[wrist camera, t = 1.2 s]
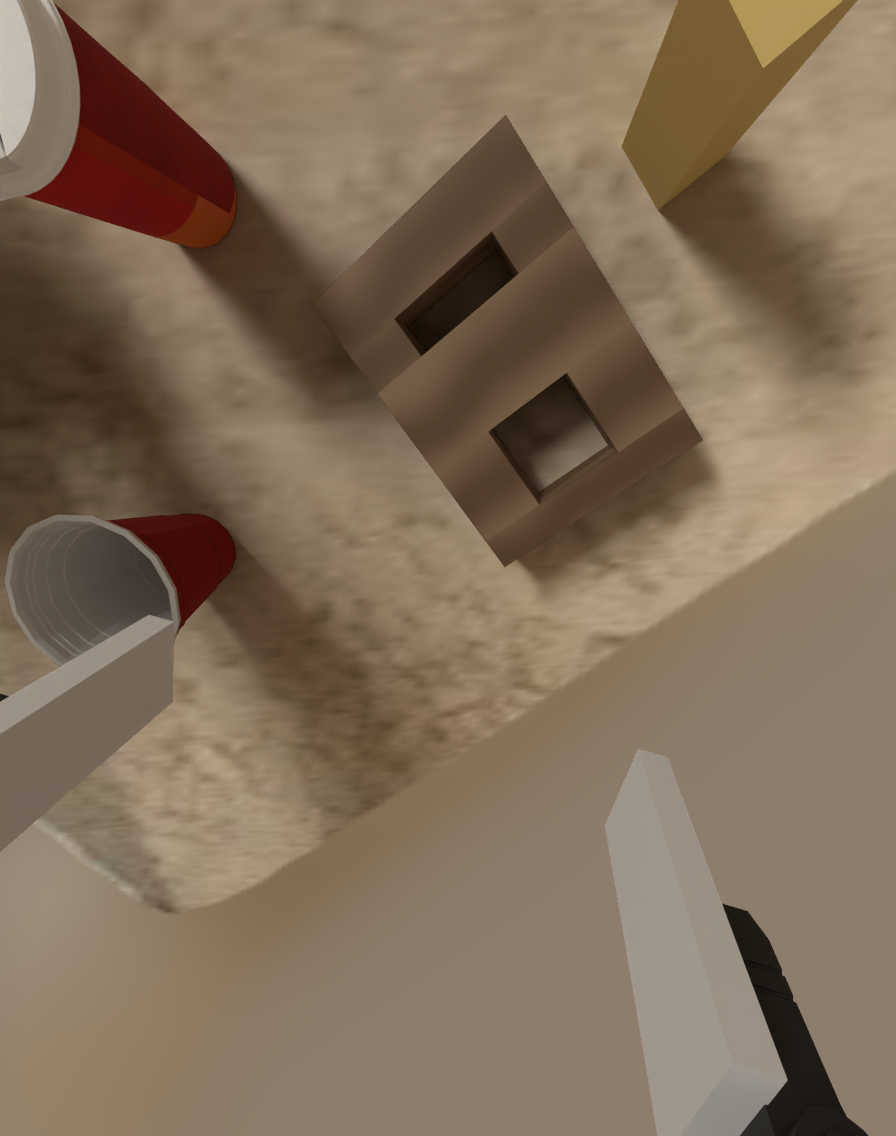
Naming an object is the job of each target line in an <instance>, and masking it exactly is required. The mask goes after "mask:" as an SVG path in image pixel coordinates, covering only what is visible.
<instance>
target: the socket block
mask: <svg viewBox="0 0 896 1136" xmlns="http://www.w3.org/2000/svg"><path fill="white" fill-rule="evenodd" d="M495 250H496V251H497V252H498V254H499V255H500V257H501V258H502V260H503V262H504V263H505V265H506V266H507V268H508V269H509V271H510V272H511V274H512V276H513V277H514V278H513V279H512V280H511V281H510V282H508V283H507V284H506V285H505V286H504V287H502V288H501V289H500V290H499V291H498V292H497V293H495V294H494V295H493V296H492V297H491V298H490V299H488V300H487V301H486V302H485V303H484V304H483V305H481V306H480V307H479V308H478V309H477V310H475V311H474V312H473V313H472V314H471V315H470V316H468V317H467V318H466V319H465V320H464V321H463V322H461V323H460V324H459V325H458V326H457V327H455V328H454V329H453V330H452V331H451V332H450V333H448V334H447V335H446V336H445V337H444V338H443V339H441V340H440V341H439V342H438V343H437V344H436V345H434V346H433V347H432V348H431V349H430V350H428V351H426V350H425V348H424V347H423V345H422V344H421V343H420V341H419V340H418V338H417V337H416V335H415V334H414V333H413V331H412V330H411V328H410V327H409V326H410V325H411V324H413V323H414V322H415V321H416V320H417V319H418V318H419V317H420V316H422V315H423V314H424V313H425V312H426V311H427V310H428V309H430V308H431V307H432V306H433V305H434V304H435V303H436V302H437V301H439V300H440V299H441V298H442V297H443V296H444V295H445V294H446V293H448V292H449V291H450V290H451V289H452V288H453V287H454V286H456V285H457V284H458V283H459V282H460V281H461V280H462V279H463V278H465V277H466V276H467V275H468V274H469V273H470V272H471V271H472V270H474V269H475V268H476V267H477V266H478V265H479V264H480V263H482V262H483V261H484V260H485V259H486V258H487V257H488V256H489V255H491V254H492V253H493V252H494V251H495ZM312 306H313V307H314V308H315V310H316V311H317V312H318V314H319V315H320V317H321V318H322V319H323V321H324V322H325V323H326V325H327V326H328V327H329V329H330V330H331V331H332V333H333V334H334V336H335V337H336V338H337V340H338V341H339V342H340V344H341V345H342V346H343V348H344V349H345V351H346V352H347V353H348V355H349V356H350V357H351V359H352V360H353V361H354V363H355V364H356V365H357V367H358V368H359V370H360V371H361V372H362V374H363V375H364V376H365V378H366V379H367V380H368V382H369V383H370V385H371V386H372V387H373V389H374V390H375V391H376V393H377V394H378V395H379V397H380V398H381V399H382V401H383V402H384V404H385V405H386V406H387V408H388V409H389V410H390V412H391V413H392V414H393V416H394V417H395V419H396V420H397V421H398V423H399V424H400V425H401V427H402V428H403V429H404V431H405V432H406V434H407V435H408V436H409V438H410V439H411V440H412V442H413V443H414V444H415V446H416V447H417V448H418V450H419V451H420V453H421V454H422V455H423V457H424V458H425V459H426V461H427V462H428V463H429V465H430V466H431V468H432V469H433V470H434V472H435V473H436V474H437V476H438V477H439V478H440V480H441V481H442V482H443V484H444V485H445V487H446V488H447V489H448V491H449V492H450V493H451V495H452V496H453V497H454V499H455V500H456V502H457V503H458V504H459V506H460V507H461V508H462V510H463V511H464V512H465V514H466V515H467V516H468V518H469V519H470V521H471V522H472V523H473V525H474V526H475V527H476V529H477V530H478V531H479V533H480V534H481V536H482V537H483V538H484V540H485V541H486V542H487V544H488V545H489V546H490V548H491V549H492V550H493V552H494V553H495V555H496V556H497V557H498V559H499V560H500V561H501V563H502V564H503V565H504V567H506V566H507V565H509V564H510V563H512V562H514V561H515V560H517V559H518V558H520V557H521V556H523V555H524V554H526V553H528V552H529V551H531V550H532V549H534V548H535V547H537V546H539V545H540V544H542V543H543V542H545V541H546V540H548V539H549V538H551V537H553V536H554V535H556V534H557V533H559V532H560V531H562V530H563V529H565V528H567V527H568V526H570V525H571V524H573V523H574V522H576V521H578V520H579V519H581V518H582V517H584V516H585V515H587V514H588V513H590V512H592V511H593V510H595V509H596V508H598V507H599V506H601V505H602V504H604V503H606V502H607V501H609V500H610V499H612V498H613V497H615V496H616V495H618V494H620V493H621V492H623V491H624V490H626V489H627V488H629V487H631V486H632V485H634V484H635V483H637V482H638V481H640V480H641V479H643V478H645V477H646V476H648V475H649V474H651V473H652V472H654V471H655V470H657V469H659V468H660V467H662V466H663V465H665V464H666V463H668V462H670V461H671V460H673V459H674V458H676V457H677V456H679V455H680V454H682V453H684V452H685V451H687V450H688V449H690V448H691V447H693V446H694V445H696V444H698V443H699V442H701V441H702V440H703V439H702V438H701V436H700V434H699V433H698V431H697V429H696V428H695V426H694V424H693V423H692V421H691V419H690V418H689V416H688V414H687V413H686V411H685V409H684V408H683V406H682V405H681V403H680V401H679V400H678V398H677V396H676V395H675V393H674V391H673V390H672V388H671V386H670V385H669V383H668V381H667V380H666V378H665V377H664V375H663V373H662V372H661V370H660V368H659V367H658V365H657V363H656V362H655V360H654V358H653V357H652V355H651V353H650V352H649V350H648V348H647V347H646V345H645V344H644V342H643V340H642V339H641V337H640V335H639V334H638V332H637V330H636V329H635V327H634V325H633V324H632V322H631V320H630V319H629V317H628V315H627V314H626V312H625V311H624V309H623V307H622V306H621V304H620V302H619V301H618V299H617V297H616V296H615V294H614V292H613V291H612V289H611V287H610V286H609V284H608V283H607V281H606V279H605V278H604V276H603V274H602V273H601V271H600V269H599V268H598V266H597V264H596V263H595V261H594V259H593V258H592V256H591V254H590V253H589V251H588V250H587V248H586V246H585V245H584V243H583V241H582V240H581V238H580V236H579V235H578V233H577V231H576V230H575V228H574V226H573V225H572V223H571V221H570V220H569V218H568V217H567V215H566V213H565V212H564V210H563V208H562V207H561V205H560V203H559V202H558V200H557V198H556V197H555V195H554V193H553V192H552V190H551V189H550V187H549V185H548V184H547V182H546V180H545V179H544V177H543V175H542V174H541V172H540V170H539V169H538V167H537V165H536V164H535V162H534V160H533V159H532V157H531V156H530V154H529V152H528V151H527V149H526V147H525V146H524V144H523V142H522V141H521V139H520V137H519V136H518V134H517V132H516V131H515V129H514V127H513V126H512V124H511V123H510V121H509V119H508V118H507V116H506V115H505V116H504V117H503V118H502V119H501V120H500V121H499V122H498V123H497V124H496V125H495V126H494V127H493V128H492V129H491V130H490V131H489V132H488V133H487V134H485V135H484V136H483V137H482V138H481V139H480V140H479V141H478V142H477V143H476V144H475V145H474V146H473V147H472V148H471V149H470V150H469V151H468V152H467V153H466V154H465V155H464V156H463V157H462V158H461V159H460V160H459V161H458V162H457V163H456V164H455V165H454V166H453V167H452V168H451V169H450V170H449V171H448V172H447V173H446V174H445V175H444V176H443V177H442V178H441V179H439V180H438V181H437V182H436V183H435V184H434V185H433V186H432V187H431V188H430V189H429V190H428V191H427V192H426V193H425V194H424V195H423V196H422V197H421V198H420V199H419V200H418V201H417V202H416V203H415V204H414V205H413V206H412V207H411V208H410V209H409V210H408V211H407V212H406V213H405V214H404V215H403V216H402V217H401V218H400V219H399V220H398V221H397V222H396V223H395V224H393V225H392V226H391V227H390V228H389V229H388V230H387V231H386V232H385V233H384V234H383V235H382V236H381V237H380V238H379V239H378V240H377V241H376V242H375V243H374V244H373V245H372V246H371V247H370V248H369V249H368V250H367V251H366V252H365V253H364V254H363V255H362V256H361V257H360V258H359V259H358V260H357V261H356V262H355V263H354V264H353V265H352V266H351V267H350V268H349V269H348V270H346V271H345V272H344V273H343V274H342V275H341V276H340V277H339V278H338V279H337V280H336V281H335V282H334V283H333V284H332V285H331V286H330V287H329V288H328V289H327V290H326V291H325V292H324V293H323V294H322V295H321V296H320V297H319V298H318V299H317V300H316V301H315V302H314V303H313V304H312ZM562 376H564V378H565V379H566V381H567V382H568V384H569V385H570V387H571V388H572V390H573V392H574V393H575V395H576V396H577V398H578V399H579V401H580V402H581V404H582V405H583V407H584V408H585V410H586V412H587V413H588V415H589V416H590V418H591V419H592V421H593V422H594V424H595V425H596V427H597V428H598V430H599V432H600V433H601V435H602V436H603V438H604V439H605V441H606V442H607V444H608V446H606V447H605V448H603V449H602V450H600V451H599V452H598V453H596V454H595V455H593V456H592V457H590V458H589V459H587V460H586V461H584V462H583V463H581V464H580V465H578V466H577V467H575V468H574V469H573V470H571V471H570V472H568V473H567V474H565V475H564V476H562V477H561V478H559V479H558V480H556V481H555V482H553V483H552V484H550V485H549V486H548V487H546V488H545V489H543V490H542V491H540V492H539V493H538V492H537V491H536V489H535V488H534V486H533V485H532V483H531V482H530V481H529V479H528V478H527V476H526V475H525V473H524V472H523V470H522V469H521V468H520V466H519V465H518V463H517V462H516V460H515V459H514V458H513V456H512V455H511V453H510V452H509V450H508V449H507V447H506V446H505V445H504V443H503V442H502V440H501V439H500V437H499V436H498V435H497V433H496V432H495V430H494V429H493V428H494V427H495V426H496V425H498V424H499V423H500V422H502V421H503V420H504V419H506V418H507V417H508V416H510V415H511V414H512V413H514V412H515V411H516V410H518V409H519V408H520V407H522V406H523V405H524V404H526V403H527V402H528V401H530V400H531V399H532V398H534V397H535V396H536V395H538V394H539V393H540V392H542V391H543V390H544V389H546V388H547V387H548V386H550V385H551V384H552V383H554V382H555V381H556V380H558V379H559V378H560V377H562Z"/></svg>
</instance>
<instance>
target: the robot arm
mask: <svg viewBox="0 0 896 1136" xmlns="http://www.w3.org/2000/svg"><path fill="white" fill-rule="evenodd" d="M173 648H174V622H173V621H170V620H166V619H162V618H159V617H155V616H152V615H147V616H146V617H144V618H142V619H141V620H139V621H137V622H136V623H134V624H132V625H130V626H129V627H127V628H125V629H124V630H122V631H120V632H118V633H117V634H115V635H113V636H112V637H110V638H108V639H107V640H105V641H103V642H101V643H100V644H98V645H96V646H95V647H93V648H91V649H89V650H88V651H86V652H84V653H83V654H81V655H79V656H78V657H76V658H74V659H72V660H71V661H69V662H67V663H66V664H64V665H62V666H60V667H59V668H57V669H55V670H54V671H52V672H50V673H48V674H47V675H45V676H43V677H42V678H40V679H38V680H37V681H35V682H33V683H31V684H30V685H28V686H26V687H25V688H23V689H21V690H19V691H18V692H16V693H14V694H13V695H11V696H6V695H3V694H0V851H2V850H3V849H4V848H5V847H6V846H7V845H8V844H9V843H11V842H12V841H13V840H14V839H15V838H17V837H18V836H19V835H20V834H21V833H22V832H23V831H25V830H26V829H27V828H28V827H29V826H30V825H32V824H33V823H34V822H35V821H36V820H37V819H38V818H40V817H41V816H42V815H43V814H44V813H45V812H46V811H48V810H49V809H50V808H51V807H52V806H53V805H55V804H56V803H57V802H58V801H59V800H60V799H61V798H63V797H64V796H65V795H66V794H67V793H68V792H70V791H71V790H72V789H73V788H74V787H75V786H76V785H78V784H79V783H80V782H81V781H82V780H83V779H84V778H86V777H87V776H88V775H89V774H90V773H91V772H93V771H94V770H95V769H96V768H97V767H98V766H99V765H101V764H102V763H103V762H104V761H105V760H106V759H108V758H109V757H110V756H111V755H112V754H113V753H114V752H116V751H117V750H118V749H119V748H120V747H121V746H122V745H124V744H125V743H126V742H127V741H128V740H129V739H131V738H132V737H133V736H134V735H135V734H136V733H137V732H139V731H140V730H141V729H142V728H143V727H144V726H146V725H147V724H148V723H149V722H150V721H151V720H152V719H154V718H155V717H156V716H157V715H158V714H159V713H160V712H162V711H163V710H164V709H165V708H166V707H167V706H169V705H170V704H171V703H172V702H173ZM605 830H606V835H607V841H608V847H609V853H610V859H611V865H612V871H613V876H614V882H615V888H616V894H617V900H618V906H619V912H620V918H621V924H622V929H623V935H624V941H625V947H626V953H627V959H628V965H629V970H630V976H631V982H632V988H633V994H634V1000H635V1005H636V1011H637V1017H638V1023H639V1029H640V1035H641V1041H642V1047H643V1053H644V1059H645V1064H646V1071H647V1076H648V1082H649V1088H650V1093H651V1100H652V1105H653V1111H654V1117H655V1124H656V1129H657V1135H658V1136H868V1135H867V1134H866V1133H865V1131H864V1130H862V1129H861V1128H860V1127H858V1126H857V1125H856V1124H855V1123H854V1122H852V1121H851V1120H850V1119H848V1118H847V1117H846V1114H845V1112H844V1111H843V1109H842V1107H841V1105H840V1103H839V1101H838V1098H837V1096H836V1094H835V1091H834V1089H833V1087H832V1084H831V1082H830V1080H829V1077H828V1075H827V1073H826V1070H825V1068H824V1066H823V1063H822V1061H821V1059H820V1057H819V1054H818V1052H817V1050H816V1047H815V1045H814V1043H813V1040H812V1038H811V1036H810V1034H809V1031H808V1029H807V1027H806V1024H805V1022H804V1020H803V1017H802V1015H801V1013H800V1010H799V1008H798V1006H797V1003H795V1002H793V994H792V992H791V990H790V987H789V985H788V983H787V980H786V978H785V977H784V976H782V969H781V967H780V964H779V962H778V960H777V957H776V955H775V953H774V950H773V948H772V946H771V944H770V941H769V939H768V938H767V937H766V935H765V934H764V933H763V931H762V930H761V929H760V927H759V926H758V925H757V924H756V922H755V921H754V919H753V918H752V917H751V915H750V914H749V913H748V911H745V910H742V909H738V908H735V907H731V906H728V905H725V904H722V902H721V900H720V897H719V894H718V892H717V889H716V886H715V884H714V881H713V878H712V876H711V873H710V870H709V868H708V865H707V862H706V860H705V857H704V854H703V851H702V849H701V846H700V844H699V841H698V838H697V835H696V833H695V830H694V827H693V825H692V822H691V819H690V817H689V814H688V811H687V809H686V806H685V803H684V801H683V798H682V795H681V793H680V790H679V787H678V784H677V782H676V779H675V776H674V774H673V771H672V768H671V766H670V763H669V760H668V758H667V757H666V756H662V755H658V754H655V753H651V752H648V751H644V750H640V749H638V750H637V753H636V755H635V757H634V760H633V762H632V764H631V766H630V769H629V771H628V773H627V776H626V778H625V781H624V783H623V785H622V787H621V790H620V792H619V794H618V797H617V799H616V801H615V804H614V806H613V808H612V810H611V813H610V815H609V817H608V820H607V822H606V825H605Z"/></svg>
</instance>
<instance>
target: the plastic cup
mask: <svg viewBox="0 0 896 1136" xmlns="http://www.w3.org/2000/svg"><path fill="white" fill-rule="evenodd" d="M235 558H236V554H235V546H234V542H233V540H232V538H231V536H230V534H229V533H228V531H227V530H226V529H225V528H224V527H223V526H222V525H221V524H220V523H219V522H218V521H216V520H214V519H212V518H210V517H208V516H206V515H200V514H179V515H171V516H162V515H160V516H150V517H139V518H129V519H119V520H104V519H102V518H100V517H97V516H84V515H61V514H56V515H54V516H52V517H49V518H47V519H45V520H42V521H40V522H38V523H35V524H33V525H31V526H28V527H27V528H26V530H25V531H24V532H23V534H22V535H21V536H20V538H19V539H18V540H17V542H16V543H15V544H14V545H13V547H12V548H11V549H10V551H9V557H8V563H7V569H6V575H5V585H6V590H7V594H8V598H9V602H10V606H11V610H12V614H13V615H14V617H15V618H16V620H17V622H18V623H19V625H20V626H21V628H22V629H23V631H24V632H25V634H26V635H27V637H28V638H29V640H30V642H31V643H32V644H33V645H34V646H35V647H36V648H38V649H39V650H40V651H41V652H42V653H44V654H45V655H46V656H47V657H48V658H50V659H51V660H52V661H53V662H54V663H56V664H57V665H58V666H59V667H60V666H62V665H64V664H66V663H67V662H69V661H71V660H72V659H74V658H76V657H78V656H79V655H81V654H83V653H84V652H86V651H88V650H89V649H91V648H93V647H95V646H96V645H98V644H100V643H101V642H103V641H105V640H107V639H108V638H110V637H112V636H113V635H115V634H117V633H118V632H120V631H122V630H124V629H125V628H127V627H129V626H130V625H132V624H134V623H136V622H137V621H139V620H141V619H142V618H144V617H146V616H147V615H152V616H155V617H159V618H162V619H166V620H170V621H173V622H174V642H175V639H176V635H177V634H178V632H179V630H180V629H181V627H182V626H183V625H184V624H185V621H186V620H187V619H188V618H189V617H190V616H191V615H192V614H193V613H194V612H195V610H196V609H197V608H198V607H199V606H200V605H201V604H202V603H203V602H204V601H205V600H206V599H207V598H208V597H209V596H210V595H211V593H212V592H213V591H214V590H215V589H216V588H217V586H218V585H219V584H220V583H221V582H222V581H223V579H224V578H225V577H226V576H227V575H228V574H229V573H230V571H231V569H232V568H233V565H234V561H235Z"/></svg>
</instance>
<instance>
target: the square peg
mask: <svg viewBox="0 0 896 1136" xmlns="http://www.w3.org/2000/svg"><path fill="white" fill-rule="evenodd" d="M856 1H857V0H679V1H678V3H677V6H676V9H675V11H674V14H673V16H672V19H671V21H670V24H669V26H668V29H667V32H666V34H665V37H664V39H663V42H662V44H661V47H660V50H659V52H658V55H657V57H656V60H655V62H654V65H653V67H652V70H651V73H650V75H649V78H648V80H647V83H646V85H645V88H644V90H643V93H642V96H641V98H640V101H639V103H638V106H637V108H636V111H635V114H634V116H633V119H632V121H631V124H630V126H629V129H628V131H627V134H626V137H625V139H624V142H623V144H622V147H623V149H624V151H625V153H626V154H627V156H628V158H629V160H630V162H631V163H632V165H633V167H634V169H635V170H636V172H637V174H638V176H639V177H640V179H641V181H642V183H643V184H644V186H645V188H646V190H647V191H648V193H649V195H650V197H651V198H652V200H653V202H654V204H655V205H656V207H657V209H658V210H659V209H661V208H662V207H663V206H664V205H666V204H667V203H668V202H669V201H671V200H672V199H673V198H674V197H675V196H677V195H678V194H679V193H680V192H682V191H683V190H684V189H685V188H687V187H688V186H689V185H690V184H691V183H693V182H694V181H695V180H696V179H698V178H699V177H700V176H701V175H702V174H704V173H705V172H706V171H707V170H709V169H710V168H711V167H712V166H714V165H715V164H716V163H717V162H718V161H720V160H721V159H722V158H723V157H725V155H726V154H727V153H728V152H729V151H730V149H731V148H732V147H733V146H734V145H735V144H736V142H737V141H738V140H739V139H740V138H741V137H742V135H743V134H744V133H745V132H746V131H747V129H748V128H749V127H750V126H751V125H752V124H753V122H754V121H755V120H756V119H757V118H758V117H759V115H760V114H761V113H762V112H763V111H764V110H765V108H766V107H767V106H768V105H769V104H770V102H771V101H772V100H773V99H774V98H775V97H776V95H777V94H778V93H779V92H780V91H781V90H782V88H783V87H784V86H785V85H786V84H787V83H788V81H789V80H790V79H791V78H792V77H793V75H794V74H795V73H796V72H797V71H798V70H799V68H800V67H801V66H802V65H803V64H804V63H805V61H806V60H807V59H808V58H809V57H810V55H811V54H812V53H813V52H814V51H815V50H816V48H817V47H818V46H819V45H820V44H821V43H822V41H823V40H824V39H825V38H826V37H827V36H828V34H829V33H830V32H831V31H832V30H833V28H834V27H835V26H836V25H837V24H838V23H839V21H840V20H841V19H842V18H843V17H844V16H845V14H846V13H847V12H848V11H849V10H850V9H851V7H852V6H853V5H854V4H855V3H856Z"/></svg>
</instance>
